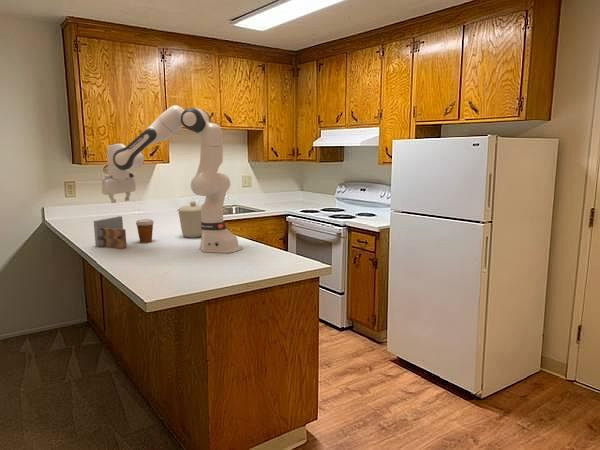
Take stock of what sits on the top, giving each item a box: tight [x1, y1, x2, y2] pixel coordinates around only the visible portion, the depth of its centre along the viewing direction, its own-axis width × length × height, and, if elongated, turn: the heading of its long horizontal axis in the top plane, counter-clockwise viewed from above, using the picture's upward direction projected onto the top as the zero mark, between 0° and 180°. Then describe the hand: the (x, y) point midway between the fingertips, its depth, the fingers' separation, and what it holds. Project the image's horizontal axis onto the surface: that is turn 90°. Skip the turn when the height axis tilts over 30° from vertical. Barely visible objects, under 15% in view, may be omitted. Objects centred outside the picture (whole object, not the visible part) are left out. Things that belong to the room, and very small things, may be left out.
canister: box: [177, 200, 202, 239], centre depth 266 cm, size 18×18×21 cm
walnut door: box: [102, 228, 127, 250], centre depth 237 cm, size 14×4×10 cm, turn 67°
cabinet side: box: [93, 215, 124, 248], centre depth 246 cm, size 5×18×14 cm, turn 157°
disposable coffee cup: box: [135, 218, 155, 244], centre depth 252 cm, size 10×10×12 cm
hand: (120, 201), depth 235 cm, fingers open, 8 cm apart
